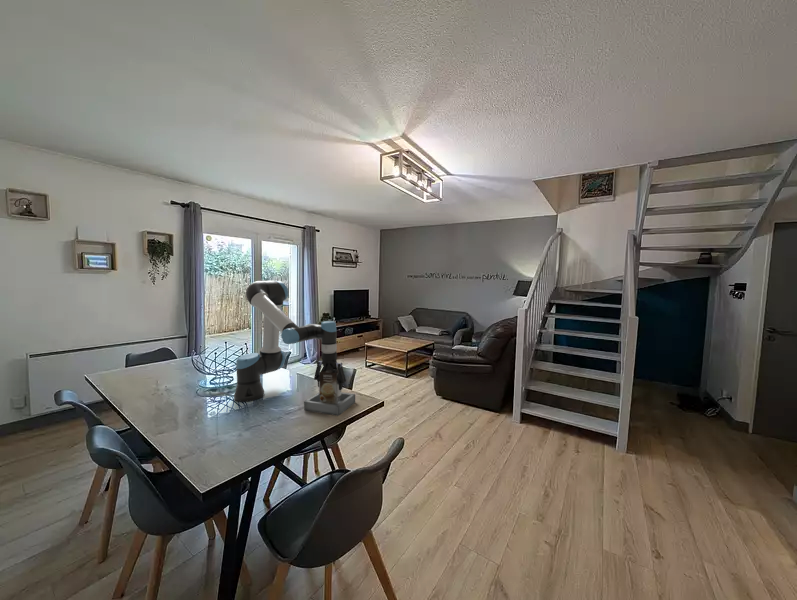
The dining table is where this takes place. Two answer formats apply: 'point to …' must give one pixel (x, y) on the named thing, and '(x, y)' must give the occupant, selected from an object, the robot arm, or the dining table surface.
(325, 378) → the coffee box
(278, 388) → the dining table surface
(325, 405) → the gray tray
